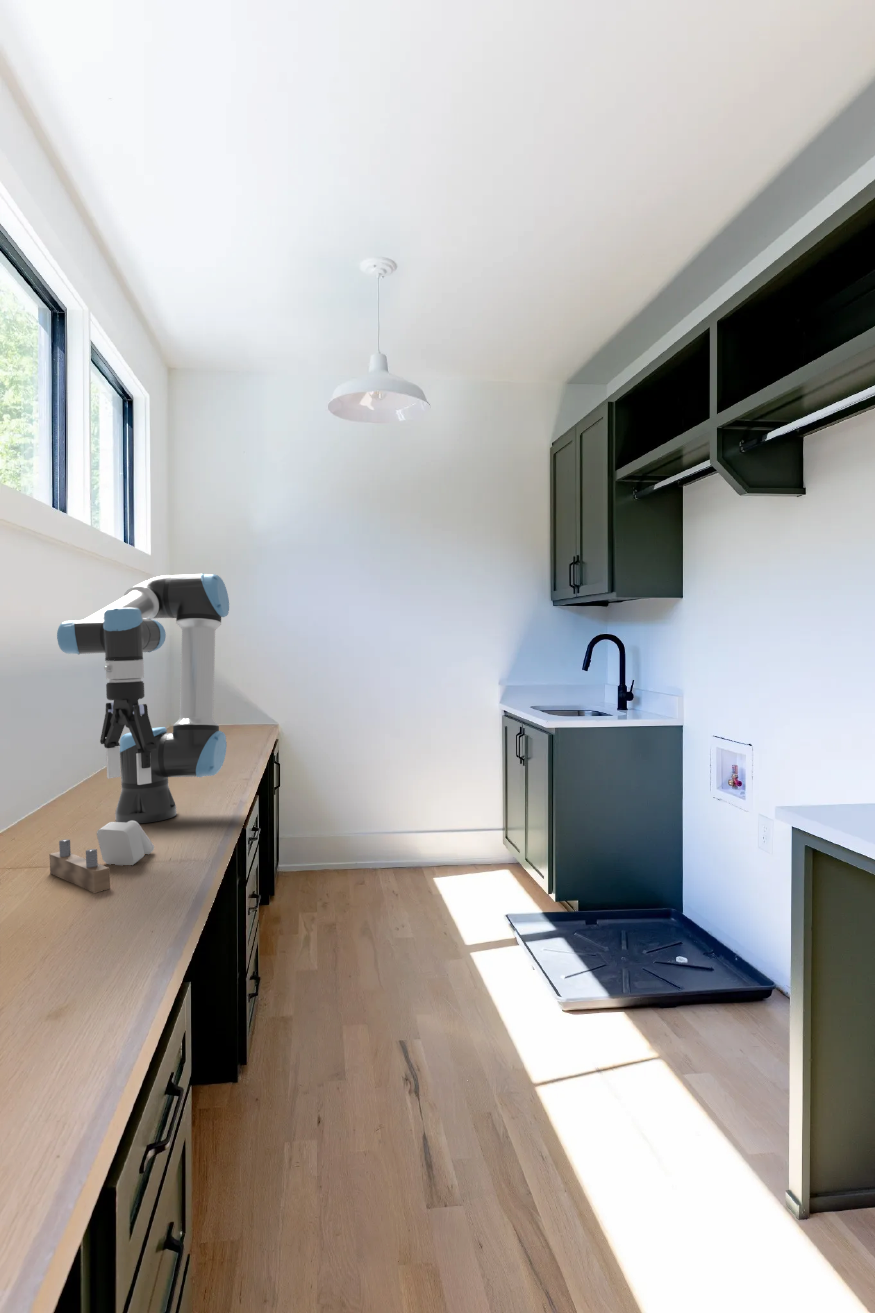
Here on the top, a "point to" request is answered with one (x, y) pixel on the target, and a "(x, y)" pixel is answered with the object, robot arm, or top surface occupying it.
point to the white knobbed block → (123, 843)
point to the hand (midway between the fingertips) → (128, 780)
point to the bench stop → (79, 868)
